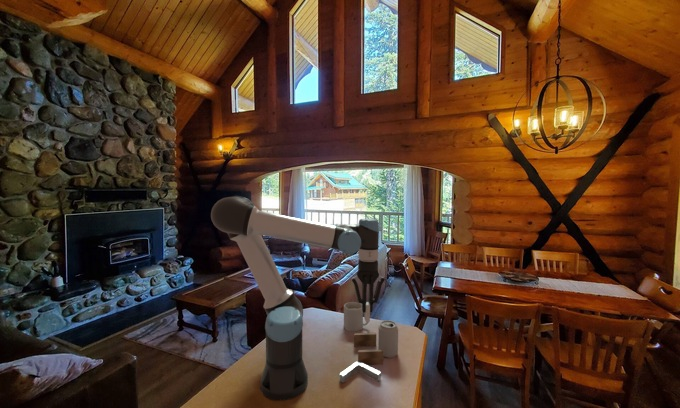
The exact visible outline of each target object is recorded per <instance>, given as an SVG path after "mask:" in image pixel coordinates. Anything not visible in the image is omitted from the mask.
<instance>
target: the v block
mask: <svg viewBox="0 0 680 408" xmlns="http://www.w3.org/2000/svg"><path fill="white" fill-rule="evenodd" d="M357 373H360V374H363V375H364V376H366V377H368V378H370V379H372V380H373V381H376V382H380V381H381V380H382V377H381V376H382V372H381V371H380V370H378V369H375V368H374V367H371V366H370V365H365V364H363V363H361V362H358V361H355V362H354V363H352V364H351V365H350V366H348V367H347V368H346V369H344V370H343V371H341V372H340V373H339V382H340V383H342V384H344V383H345V382H347V381H348V380H349V379H351V378H353V376H355V375H356V374H357Z"/></svg>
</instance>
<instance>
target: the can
mask: <svg viewBox="0 0 680 408" xmlns="http://www.w3.org/2000/svg"><path fill="white" fill-rule="evenodd" d="M377 344H378V346H377V347H378V349H377V350H379V349H382V350H383V358H384V357H385V358H386V359H391V358H394V357H396V356H397V355H398V354H399V353H398V352H399V327H398V326H397V323H396V322H395V321H393V320H389V319H388V320H387V319H385V320H382V321H380V324H379V325H378V343H377Z"/></svg>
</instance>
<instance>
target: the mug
mask: <svg viewBox="0 0 680 408" xmlns="http://www.w3.org/2000/svg"><path fill="white" fill-rule="evenodd" d="M369 323H370V322H366V321H365V322H364V313H363V311H362V303H359V302H358V301H357V302H356V301H351V302H346V303H344V305H343V328H344V329H345V330H346V331H348V332H358V331H361V330H362V329H363V327H365V326H367V325H368V324H369Z"/></svg>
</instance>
